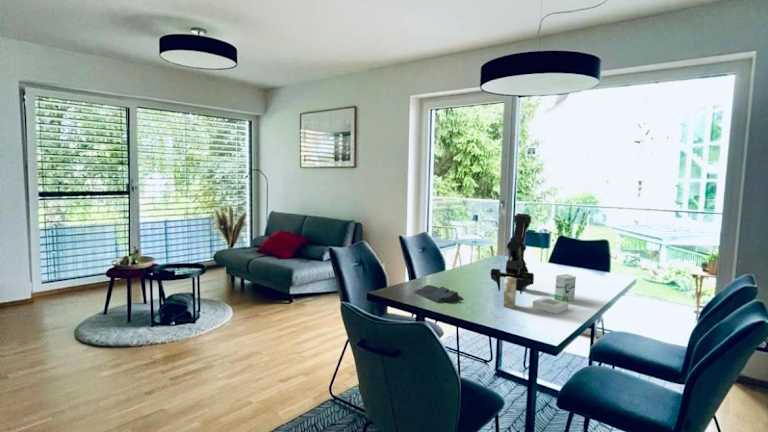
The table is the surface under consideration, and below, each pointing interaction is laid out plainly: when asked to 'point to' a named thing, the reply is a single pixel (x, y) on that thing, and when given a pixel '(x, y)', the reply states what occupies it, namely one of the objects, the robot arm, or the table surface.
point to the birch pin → (510, 292)
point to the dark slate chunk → (438, 294)
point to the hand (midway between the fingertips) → (509, 292)
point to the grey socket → (550, 305)
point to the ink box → (565, 287)
